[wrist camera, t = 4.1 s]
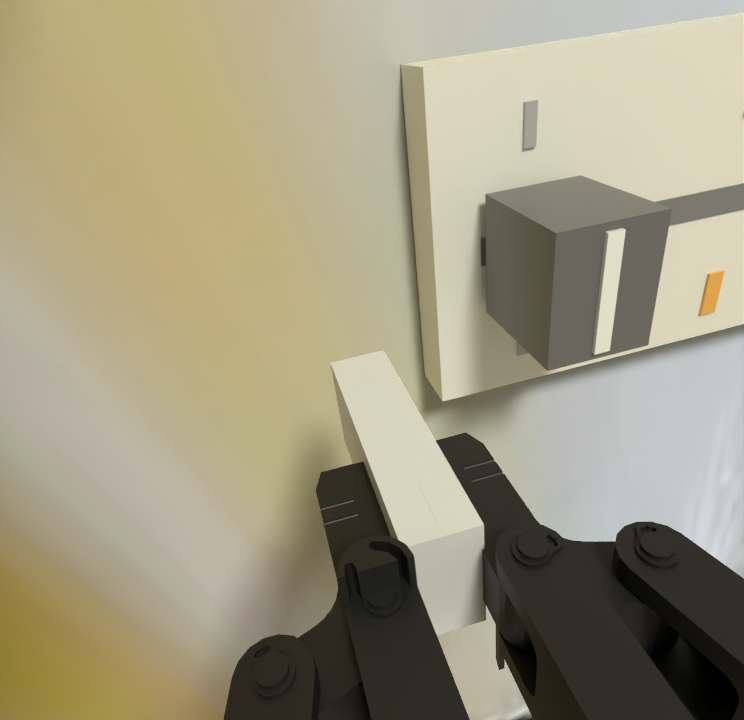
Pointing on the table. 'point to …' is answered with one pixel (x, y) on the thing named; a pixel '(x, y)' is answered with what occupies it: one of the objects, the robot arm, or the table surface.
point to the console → (577, 174)
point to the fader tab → (573, 268)
